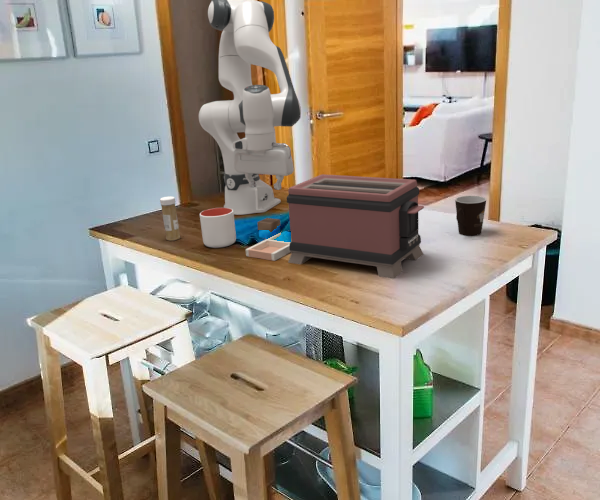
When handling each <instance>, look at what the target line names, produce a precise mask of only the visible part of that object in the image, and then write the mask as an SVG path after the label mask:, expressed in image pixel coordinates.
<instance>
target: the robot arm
mask: <svg viewBox="0 0 600 500" xmlns="http://www.w3.org/2000/svg"><path fill="white" fill-rule="evenodd" d="M207 17H208V21H209V22H208V23H209V25H210V26H211V28H212V29H215V30H218V31H221V35H220V39H219V46H218V47H219V48H218V81H219V84H220V85H221V87H223V88H225V89H226V90H229V91H231V92H232V94H233V99H232V100H230V99H228V100H215V101H211V102H207V103H205V104H203V105H202V106H201V107H200V109H199V112H198V121H199V124H200V126H201V128H202V129H203V130H204V131H205V132H207V133H208V134H209V135H210V136H211V137H213V139H214V140H215V141H216V142H217V145H218V146H219V149H220V152H221V156H222V160H223V161H222V162H223V168H224V173H223V179H224V184H225V186H224V202H225V203H224V204H223V208H230V209H232V210H233V214H234V216H235V215H238V216H240V215H251V214H256V213H258V214H259V213H266V212H267V211H269V210H270V209H273V208H274V207H275V206H277V205H278V204H281V202H282V201H281V199H280V198H277V197H275V195H274V190H276V191H277V190H278V191H280V190H282V183H283V180H284V177H285V176H286V177H287V176H290V175H292V174H293V173H294V171H295V169H294V162H293V158H292V157H293V156H292V152H291V151H292V149H291V147H290V146H289V145H288V144H287V143H286V142H285V143H283V142H282V143H279V142H277V140H276V139H277V138H276V129H275V128H276V127H290V128H291V127H293V126H295V125H296V124H297V123H298V121H300V119H301V115H302V109H301V108H302V107H301V103H300V100H299V98H298V96H297V94H296V90H295V88H294V85H293V81H292V78H291V74H290V72H289V68H288V65H287V62H286V58H285V56H284V54H283V51H282V49H281V47H279V46H277V45H275V44H274V42H272V39H271V38H270V32H271V30H273V27H274V26H273V25H274V22H275V11H274V8H273V6H272V5H271V4H270V3H267V2H265V1H258V0H210V3H209V6H208V9H207ZM252 65H254V66H258V67H262V68H265V69H267V70H269V71H271V72H272V73H273V74H274V75H275V77H276V81H277V83H278V87H279V91H280V92H279V93H273V94H272V93H271V90H270V88H269V86H268V85H264V84H253V81H252V69H251V68H252ZM238 133H244V134H245V136H244V137H243V138H240V137H239V135H238ZM260 175H261V176H263V175H266V176H267V175H268V176H275V179H276V182H275V183H273V188H272V186H271V185H269V184H267V183H266V182H264V181H263V180H262V179H261V177H260ZM273 189H274V190H273Z"/></svg>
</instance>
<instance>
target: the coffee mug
mask: <svg viewBox="0 0 600 500" xmlns="http://www.w3.org/2000/svg"><path fill="white" fill-rule="evenodd" d="M454 201H455V202H454V203H455V211H456V218H455V219H456V222H457V231H458V234H459V235H461V236H465V237H475V236H476V237H477V236H479V235H481V234H482V230H483V225H484V219H485V211H486V203H487V198H486V197H484V196H481V195H464V196H463V195H462V196H457V197H456V198H455V199H454Z"/></svg>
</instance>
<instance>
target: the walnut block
mask: <svg viewBox="0 0 600 500" xmlns="http://www.w3.org/2000/svg"><path fill="white" fill-rule="evenodd" d="M256 224H257V231H258V230H269V231H270V232H272V231H273V230H274V229H276V228H277V226H279V225H280V226H281V219H279V218H270V217H266V218H264V219H263V218H262V219H261V220H259V221H257V223H256Z"/></svg>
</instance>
